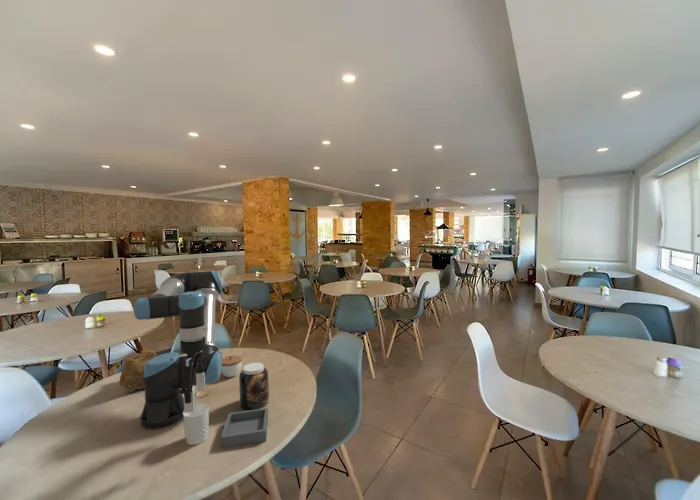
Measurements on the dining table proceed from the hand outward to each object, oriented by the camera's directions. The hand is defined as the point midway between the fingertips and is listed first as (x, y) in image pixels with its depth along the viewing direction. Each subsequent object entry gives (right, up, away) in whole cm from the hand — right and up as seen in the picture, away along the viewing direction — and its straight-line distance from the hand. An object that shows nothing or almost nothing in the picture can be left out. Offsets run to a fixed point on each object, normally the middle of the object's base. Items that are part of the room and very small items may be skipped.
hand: (195, 400), depth 102 cm
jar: (+13, -12, +23) cm, 29 cm away
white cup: (0, -14, +1) cm, 14 cm away
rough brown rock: (-43, -13, +40) cm, 61 cm away
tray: (+16, -13, +4) cm, 21 cm away
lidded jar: (-7, -12, +49) cm, 51 cm away
